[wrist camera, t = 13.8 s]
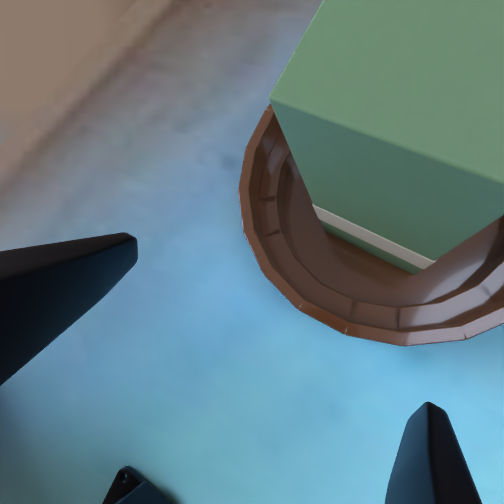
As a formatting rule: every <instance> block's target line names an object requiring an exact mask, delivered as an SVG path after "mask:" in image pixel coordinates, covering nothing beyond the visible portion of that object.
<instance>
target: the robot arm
mask: <svg viewBox="0 0 504 504" xmlns="http://www.w3.org/2000/svg"><path fill="white" fill-rule="evenodd" d="M137 259H138V247H137V239H136V238H135V237H133V236H132V235H130V234H128V233H125V232H123V233H116V234H110V235H103V236H97V237H90V238H84V239H78V240H71V241H65V242H58V243H52V244H45V245H39V246H32V247H26V248H19V249H13V250H6V251H0V386H1V385H2V384H3V383H4V382H6V381H7V380H8V379H9V378H10V377H11V376H13V375H14V374H15V373H16V372H17V371H18V370H20V369H21V368H22V367H23V366H24V365H25V364H27V363H28V362H29V361H30V360H31V359H32V358H34V357H35V356H36V355H37V354H38V353H39V352H41V351H42V350H43V349H44V348H45V347H46V346H48V345H49V344H50V343H51V342H52V341H53V340H55V339H56V338H57V337H58V336H59V335H60V334H62V333H63V332H64V331H65V330H66V329H67V328H69V327H70V326H71V325H72V324H73V323H74V322H76V321H77V320H78V319H79V318H80V317H81V316H83V315H84V314H85V313H86V312H87V311H88V310H90V309H91V308H92V307H93V306H94V305H95V304H97V303H98V302H99V301H100V300H101V299H102V298H103V297H104V296H105V295H106V294H107V293H108V292H109V291H110V290H111V289H112V288H113V287H114V286H115V285H116V284H117V283H118V282H119V281H120V280H121V279H122V278H123V276H124V275H125V274H126V273H127V272H128V271H129V270H130V269H131V268H132V267H133V266H134V265H135V263H136V262H137ZM125 473H126V475H127V478H126V477H125ZM102 504H172V503H171V502H170V501H169V500H168V499H166V498H165V497H164V496H163V495H162V494H161V493H160V492H159V491H158V490H156V489H155V488H154V487H153V486H152V485H151V484H150V483H149V482H147V481H146V480H145V479H144V478H143V477H142V476H141V475H140V474H138V473H137V472H136V471H135V470H134V469H133V468H132V467H130V466H125V467H123V468H122V469H120V470H119V472H118V473H117V475H116V477H115V479H114V481H113V483H112V485H111V487H110V489H109V491H108V493H107V495H106V497H105V499H104V501H103V503H102ZM385 504H482V502H481V499H480V497H479V494H478V492H477V489H476V487H475V484H474V481H473V479H472V476H471V474H470V471H469V469H468V466H467V464H466V461H465V458H464V456H463V453H462V451H461V448H460V446H459V443H458V440H457V438H456V435H455V433H454V430H453V428H452V425H451V422H450V420H449V417H448V415H447V413H446V412H445V410H443V409H442V408H440V407H438V406H436V405H435V404H433V403H431V402H425V403H424V404H423V405H422V406H421V407H420V408H419V409H418V410H417V411H416V412H415V413H414V414H412V415H411V417H410V418H409V419H408V421H407V424H406V427H405V430H404V433H403V436H402V440H401V443H400V446H399V450H398V453H397V456H396V460H395V463H394V466H393V469H392V473H391V476H390V480H389V483H388V488H387V493H386V499H385Z"/></svg>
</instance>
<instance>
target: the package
mask: <svg viewBox="0 0 504 504" xmlns="http://www.w3.org/2000/svg"><path fill="white" fill-rule="evenodd" d="M269 100H270V103H271V105H272V108H273V110H274V112H275V115H276V117H277V119H278V122H279V124H280V126H281V129H282V131H283V134H284V136H285V138H286V141H287V143H288V145H289V148H290V150H291V153H292V155H293V157H294V160H295V162H296V164H297V167H298V169H299V171H300V174H301V176H302V179H303V181H304V183H305V186H306V188H307V190H308V193H309V195H310V197H311V200H312V202H313V204H312V205H313V207H314V210H315V212H316V214H317V216H318V218H319V219H320V221H321V224H322V226H323V228H324V231H326V232H328V233H330V234H332V235H334V236H336V237H338V238H340V239H342V240H344V241H346V242H348V243H350V244H352V245H354V246H356V247H358V248H360V249H362V250H364V251H366V252H368V253H370V254H372V255H374V256H376V257H378V258H380V259H382V260H384V261H386V262H388V263H390V264H392V265H394V266H396V267H398V268H400V269H402V270H404V271H406V272H408V273H410V274H413V275H415V274H416V273H418V272H419V271H421V270H422V269H425V268H427V267H428V266H430V265H432V264H433V263H435V262H436V261H437V259H438V258H440V257H441V256H443V255H444V254H446V253H447V252H449V251H450V250H452V249H453V248H455V247H456V246H458V245H459V244H461V243H462V242H464V241H465V240H467V239H468V238H470V237H471V236H473V235H474V234H476V233H477V232H479V231H480V230H482V229H483V228H485V227H486V226H488V225H489V224H491V223H492V222H494V221H495V220H497V219H498V218H500V217H501V216H503V215H504V0H323V2H322V3H321V5H320V7H319V9H318V10H317V12H316V14H315V16H314V17H313V19H312V21H311V23H310V24H309V26H308V28H307V30H306V32H305V33H304V35H303V37H302V39H301V40H300V42H299V44H298V46H297V47H296V49H295V51H294V53H293V55H292V56H291V58H290V60H289V62H288V63H287V65H286V67H285V69H284V70H283V72H282V74H281V76H280V77H279V79H278V81H277V83H276V85H275V86H274V88H273V90H272V92H271V93H270V95H269Z"/></svg>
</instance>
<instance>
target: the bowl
mask: <svg viewBox="0 0 504 504" xmlns="http://www.w3.org/2000/svg"><path fill="white" fill-rule="evenodd" d="M238 194H239V202H240V209H241V217H242V225H243V232H244V235H245V237H246V239H247V241H248V243H249V245H250V247H251V250H252V252H253V254H254V256H255V258H256V260H257V262H258V264H259V266H260V268H261V270H262V272H263V274H264V275H265V276H266V277H267V279H268V280H269V281H270V282H271V283H272V284H273V285H274V286H275V287H276V288H277V289H278V290H279V291H280V292H281V293H282V294H283V295H284V296H285V297H286V298H287V299H288V300H289V301H290V302H291V303H292V304H293V305H294V306H295V308H297V309H298V310H299V311H301V312H303V313H305V314H307V315H309V316H310V317H312V318H314V319H316V320H318V321H320V322H322V323H323V324H325V325H327V326H329V327H331V328H333V329H335V330H336V331H338V332H340V333H342V334H345V335H347V336H352V337H357V338H362V339H367V340H372V341H378V342H383V343H388V344H393V345H398V346H413V345H423V344H432V343H442V342H452V341H461V340H466V339H470V338H472V337H474V336H477V335H479V334H481V333H483V332H486V331H488V330H490V329H493V328H495V327H497V326H500V325H502V324H504V215H503V216H501V217H500V218H498V219H497V220H495V221H494V222H492V223H491V224H489V225H488V226H486V227H485V228H483V229H482V230H480V231H479V232H477V233H476V234H474V235H473V236H471V237H470V238H468V239H467V240H465V241H464V242H462V243H461V244H459V245H458V246H456V247H455V248H453V249H452V250H450V251H449V252H447V253H446V254H444V255H443V256H441V257H440V258H438V259H437V261H436V262H435V263H433V264H432V265H430V266H428V267H427V268H425V269H422V270H421V271H419V272H418V273H416V274H415V275H413V274H410V273H408V272H406V271H404V270H402V269H400V268H398V267H396V266H394V265H392V264H390V263H388V262H386V261H384V260H382V259H380V258H378V257H376V256H374V255H372V254H370V253H368V252H366V251H364V250H362V249H360V248H358V247H356V246H354V245H352V244H350V243H348V242H346V241H344V240H342V239H340V238H338V237H336V236H334V235H332V234H330V233H328V232H326V231H324V228H323V226H322V224H321V221H320V219H319V218H318V216H317V214H316V212H315V210H314V207H313V205H312V204H313V202H312V200H311V197H310V195H309V193H308V190H307V188H306V186H305V183H304V181H303V179H302V176H301V174H300V171H299V169H298V167H297V164H296V162H295V160H294V157H293V155H292V153H291V150H290V148H289V145H288V143H287V141H286V138H285V136H284V134H283V131H282V129H281V126H280V124H279V122H278V119H277V117H276V115H275V112H274V110H273V108H272V105H271V104H270V105H269V106H268V107H267V108H266V110H265V111H264V113H263V115H262V117H261V119H260V121H259V123H258V125H257V127H256V129H255V131H254V133H253V135H252V137H251V139H250V141H249V143H248V145H247V147H246V150H245V156H244V161H243V167H242V172H241V178H240V183H239V189H238Z"/></svg>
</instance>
